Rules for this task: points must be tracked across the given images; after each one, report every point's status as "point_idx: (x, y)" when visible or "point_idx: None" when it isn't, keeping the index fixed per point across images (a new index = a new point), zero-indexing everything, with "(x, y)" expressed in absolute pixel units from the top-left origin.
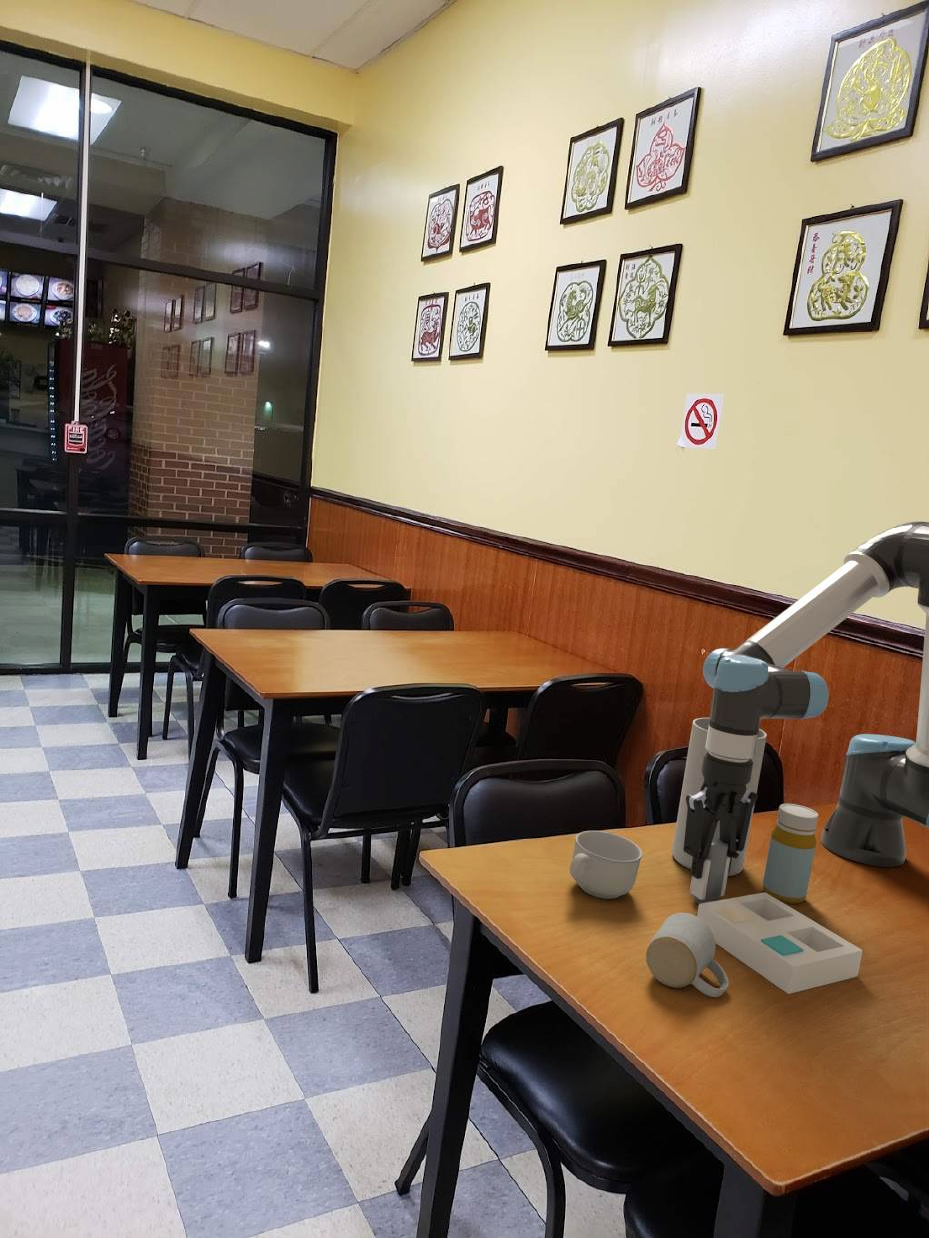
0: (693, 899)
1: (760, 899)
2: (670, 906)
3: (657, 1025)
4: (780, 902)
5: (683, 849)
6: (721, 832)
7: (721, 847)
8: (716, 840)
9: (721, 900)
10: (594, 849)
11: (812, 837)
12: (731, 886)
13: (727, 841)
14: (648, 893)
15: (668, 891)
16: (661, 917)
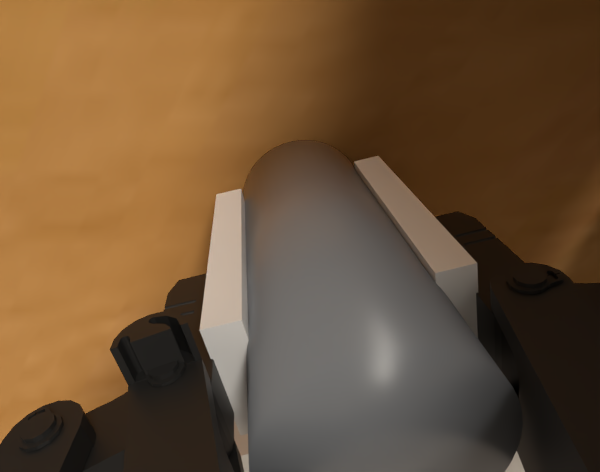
0: (245, 182)
1: None
2: (90, 238)
3: None
4: (516, 453)
5: (6, 436)
6: (572, 465)
7: None
8: (450, 404)
9: (242, 458)
10: None
11: None
12: (560, 37)
13: (532, 468)
14: (3, 101)
15: (143, 81)
16: (8, 327)
